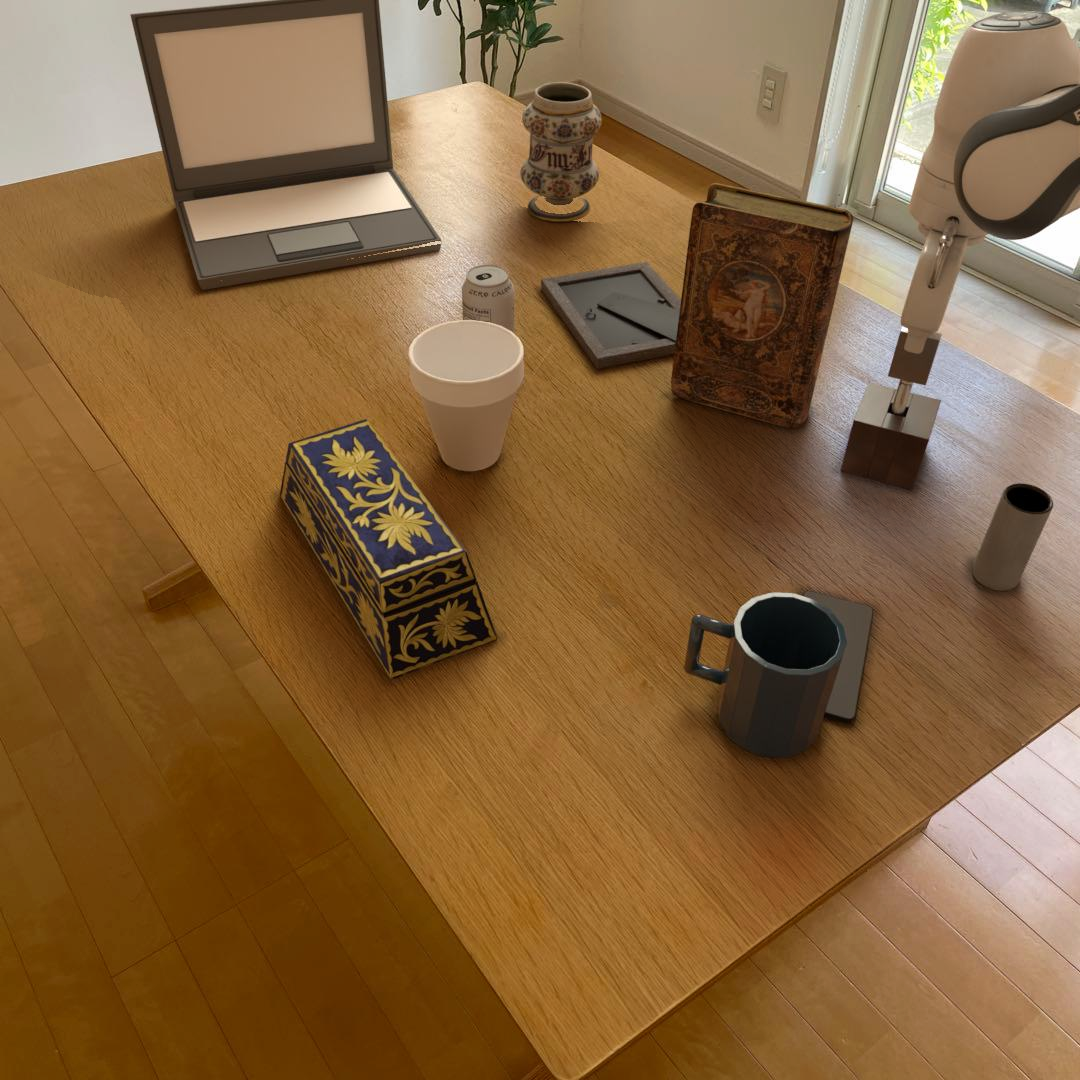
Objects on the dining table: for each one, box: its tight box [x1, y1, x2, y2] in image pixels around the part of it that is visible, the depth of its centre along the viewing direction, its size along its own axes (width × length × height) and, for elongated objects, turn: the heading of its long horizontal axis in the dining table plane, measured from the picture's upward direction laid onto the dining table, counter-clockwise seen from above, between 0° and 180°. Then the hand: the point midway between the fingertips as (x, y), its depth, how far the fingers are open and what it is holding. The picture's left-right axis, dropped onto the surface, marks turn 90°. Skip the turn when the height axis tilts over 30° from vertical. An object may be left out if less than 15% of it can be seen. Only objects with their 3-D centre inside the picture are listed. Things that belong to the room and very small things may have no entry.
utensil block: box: [840, 382, 942, 491], centre depth 117 cm, size 8×8×7 cm
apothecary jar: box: [519, 81, 603, 223], centre depth 159 cm, size 12×12×18 cm
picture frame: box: [540, 261, 681, 370], centre depth 141 cm, size 16×2×21 cm
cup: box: [407, 319, 525, 472], centre depth 115 cm, size 12×12×14 cm
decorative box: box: [279, 418, 498, 680], centre depth 103 cm, size 11×30×9 cm, turn 30°
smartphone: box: [802, 590, 874, 725], centre depth 98 cm, size 7×1×15 cm
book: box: [670, 182, 854, 430], centre depth 119 cm, size 16×6×25 cm, turn 65°
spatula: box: [887, 325, 943, 417], centre depth 114 cm, size 4×1×17 cm, turn 65°
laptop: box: [129, 0, 442, 291], centre depth 150 cm, size 35×28×28 cm
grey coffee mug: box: [683, 591, 847, 759], centre depth 90 cm, size 13×9×11 cm
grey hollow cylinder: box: [971, 482, 1054, 592], centre depth 103 cm, size 4×4×10 cm
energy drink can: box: [461, 264, 515, 334], centre depth 125 cm, size 6×6×15 cm
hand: (921, 326), depth 108 cm, fingers open, 8 cm apart
